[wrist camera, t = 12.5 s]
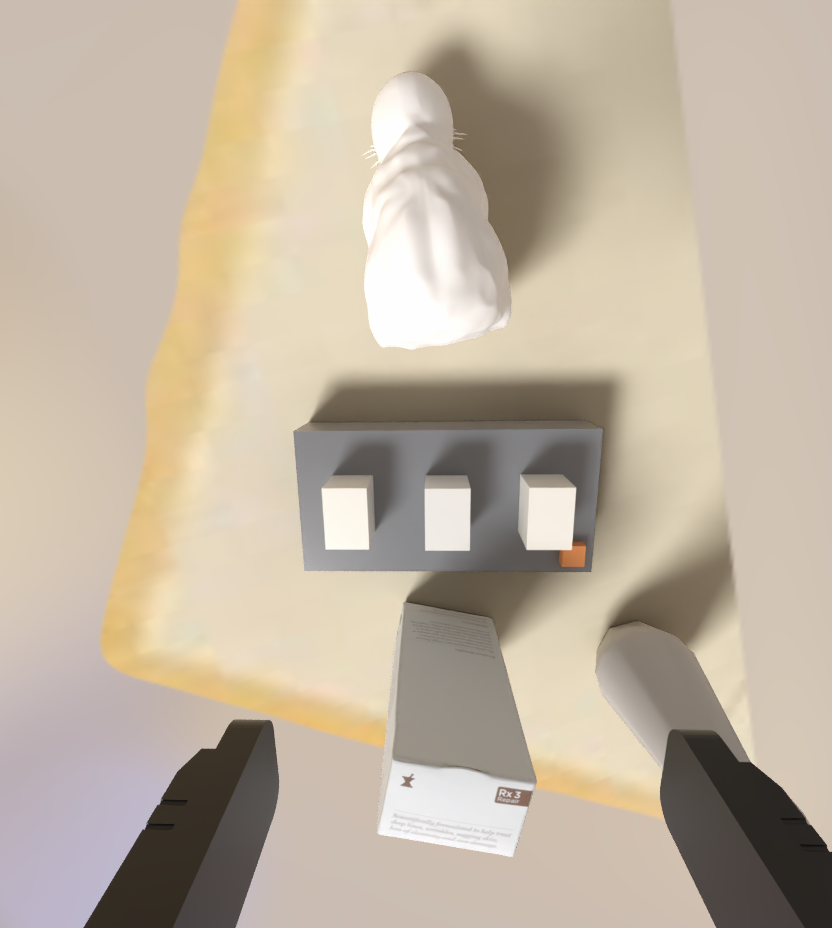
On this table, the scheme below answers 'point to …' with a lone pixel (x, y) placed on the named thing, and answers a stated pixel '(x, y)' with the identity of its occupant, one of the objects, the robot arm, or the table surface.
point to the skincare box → (453, 737)
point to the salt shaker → (659, 688)
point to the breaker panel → (448, 453)
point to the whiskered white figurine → (428, 227)
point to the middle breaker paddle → (447, 513)
